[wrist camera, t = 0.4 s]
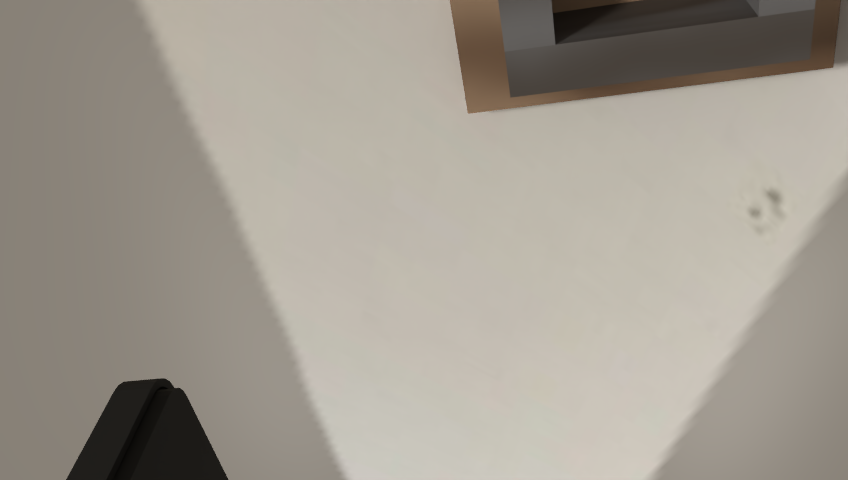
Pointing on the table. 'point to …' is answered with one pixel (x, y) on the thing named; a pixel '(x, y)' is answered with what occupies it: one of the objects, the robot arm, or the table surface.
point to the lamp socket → (631, 45)
